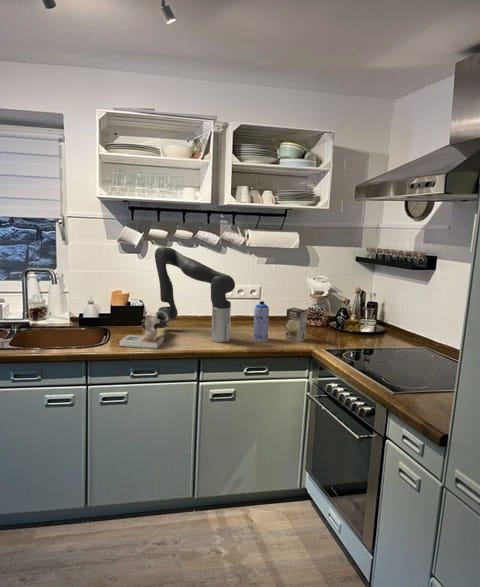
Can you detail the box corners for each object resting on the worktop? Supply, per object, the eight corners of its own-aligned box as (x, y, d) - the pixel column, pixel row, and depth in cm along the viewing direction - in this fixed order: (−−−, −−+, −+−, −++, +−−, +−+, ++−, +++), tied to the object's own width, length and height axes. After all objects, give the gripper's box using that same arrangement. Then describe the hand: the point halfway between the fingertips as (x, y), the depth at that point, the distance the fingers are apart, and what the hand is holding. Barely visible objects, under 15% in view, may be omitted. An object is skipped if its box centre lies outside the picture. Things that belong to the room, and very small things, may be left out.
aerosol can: (269, 338, 243) (271, 300, 240) (266, 341, 236) (268, 303, 233) (254, 336, 245) (256, 299, 242) (251, 340, 238) (252, 302, 235)
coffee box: (284, 338, 244) (285, 308, 241) (291, 336, 248) (293, 307, 246) (298, 342, 238) (300, 311, 235) (305, 340, 242) (307, 310, 240)
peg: (156, 341, 225) (157, 313, 223) (154, 344, 221) (154, 315, 218) (147, 341, 225) (148, 313, 223) (145, 343, 221) (145, 315, 219)
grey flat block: (163, 342, 229) (163, 336, 228) (156, 348, 217) (156, 342, 216) (128, 339, 230) (128, 334, 230) (119, 346, 218) (119, 340, 218)
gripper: (145, 311, 236) (134, 318, 219) (173, 312, 234) (164, 320, 218) (145, 325, 237) (134, 333, 220) (173, 327, 236) (164, 335, 219)
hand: (149, 326), depth 219 cm, fingers closed on peg, 4 cm apart
